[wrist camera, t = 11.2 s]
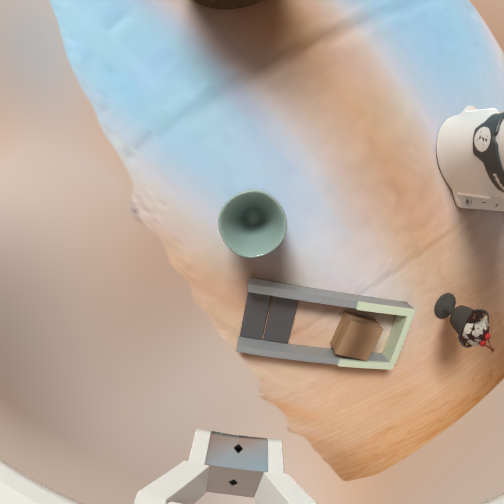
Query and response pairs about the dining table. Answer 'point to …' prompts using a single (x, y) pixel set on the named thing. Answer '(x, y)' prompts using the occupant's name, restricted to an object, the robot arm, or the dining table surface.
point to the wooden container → (226, 3)
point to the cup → (252, 223)
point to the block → (356, 336)
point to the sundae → (465, 321)
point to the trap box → (284, 315)
